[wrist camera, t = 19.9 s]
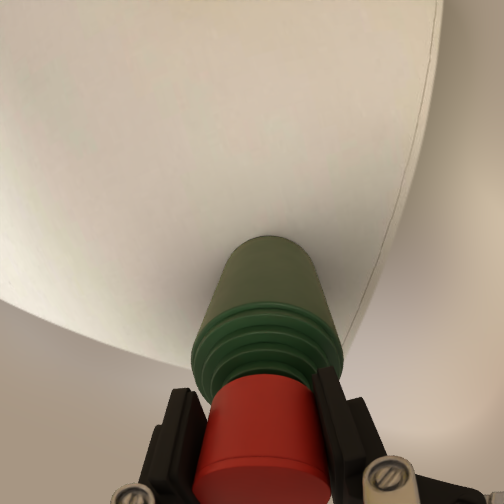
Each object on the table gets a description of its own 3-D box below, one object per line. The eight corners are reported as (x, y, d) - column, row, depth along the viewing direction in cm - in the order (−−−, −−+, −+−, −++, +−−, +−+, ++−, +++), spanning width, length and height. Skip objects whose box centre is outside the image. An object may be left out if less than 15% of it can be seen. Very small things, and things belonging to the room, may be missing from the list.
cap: (342, 401, 10) (362, 487, 6) (279, 455, 11) (278, 532, 7) (248, 354, 10) (236, 447, 6) (193, 419, 11) (171, 499, 7)
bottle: (310, 229, 21) (385, 388, 6) (319, 315, 23) (364, 509, 8) (215, 243, 22) (117, 406, 7) (232, 326, 23) (188, 518, 9)
